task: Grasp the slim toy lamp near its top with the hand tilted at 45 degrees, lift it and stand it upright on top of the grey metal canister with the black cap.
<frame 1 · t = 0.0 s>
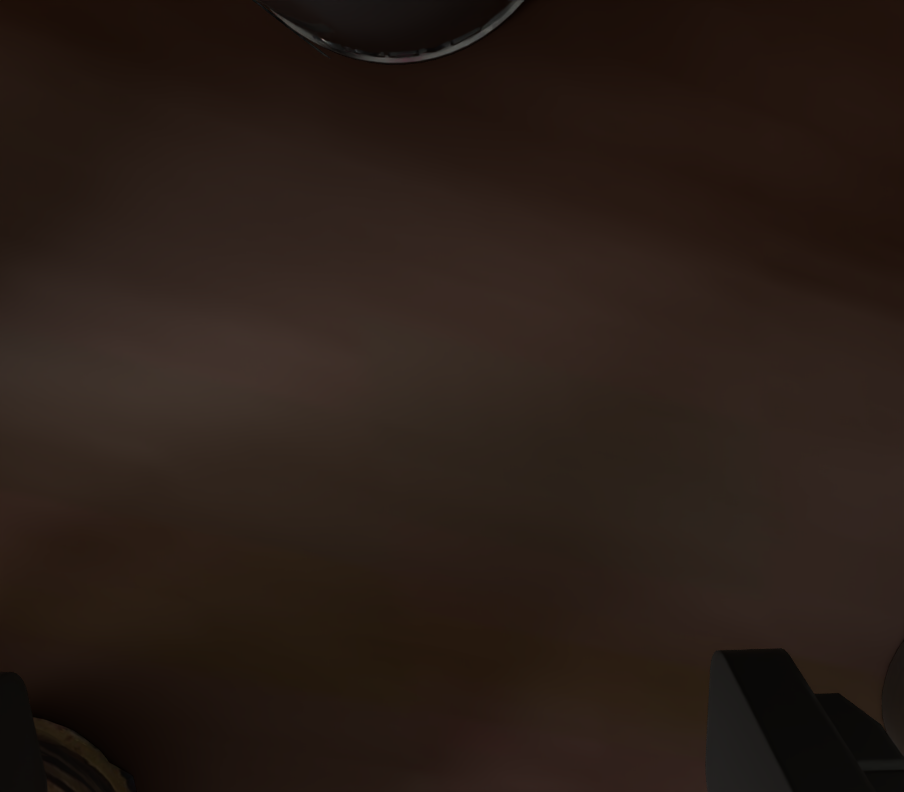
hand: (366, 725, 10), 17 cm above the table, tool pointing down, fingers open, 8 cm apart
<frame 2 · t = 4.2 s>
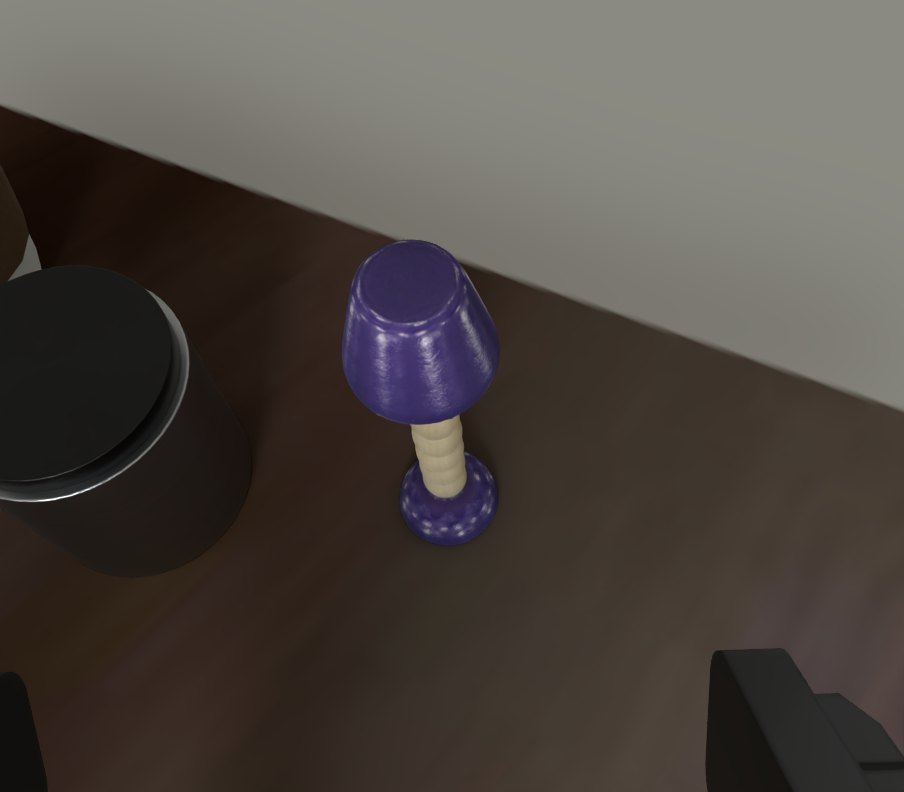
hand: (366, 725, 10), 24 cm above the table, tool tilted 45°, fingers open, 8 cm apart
toy lamp: (442, 505, 37), on the table
grey metal canister: (150, 477, 37), on the table
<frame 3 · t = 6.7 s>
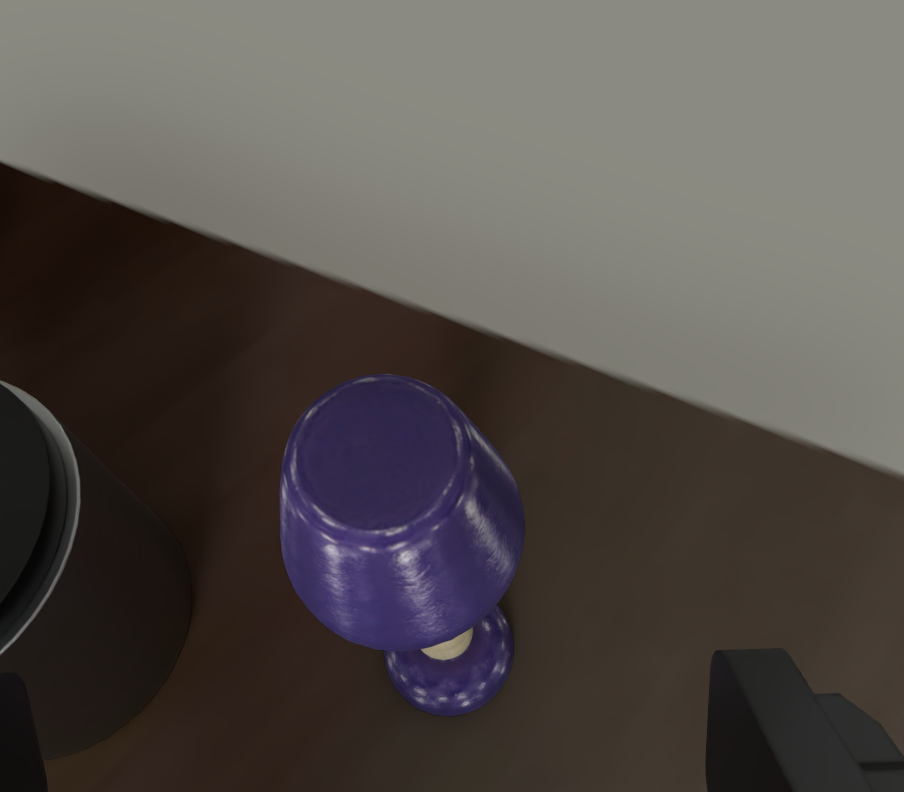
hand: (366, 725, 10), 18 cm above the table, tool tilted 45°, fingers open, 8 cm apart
toy lamp: (440, 655, 28), on the table
grey metal canister: (60, 617, 29), on the table
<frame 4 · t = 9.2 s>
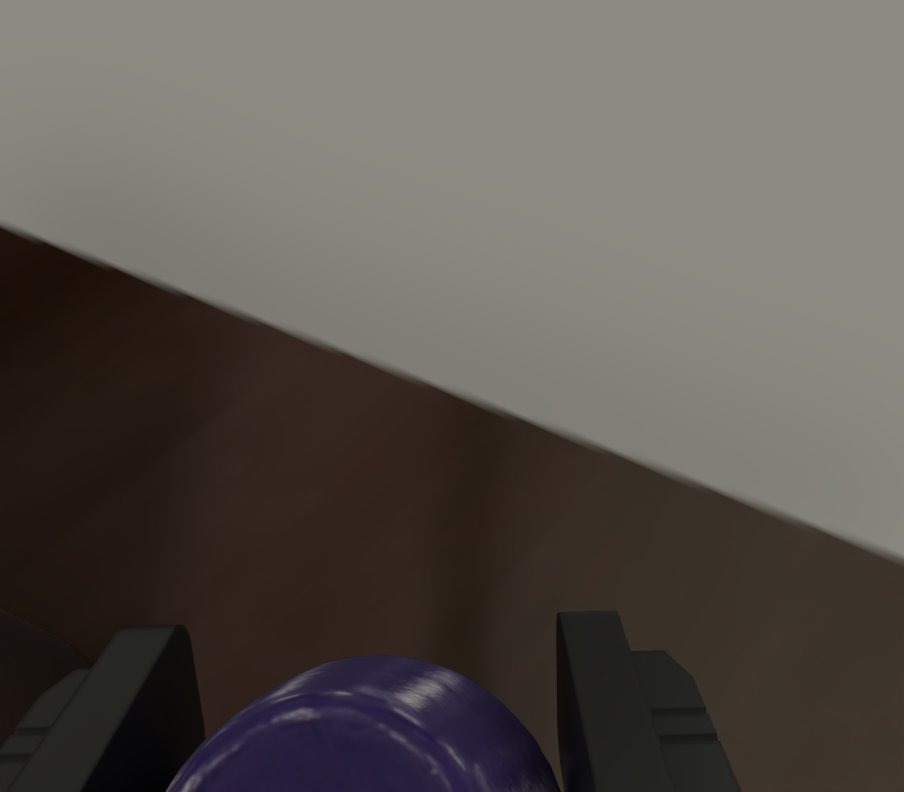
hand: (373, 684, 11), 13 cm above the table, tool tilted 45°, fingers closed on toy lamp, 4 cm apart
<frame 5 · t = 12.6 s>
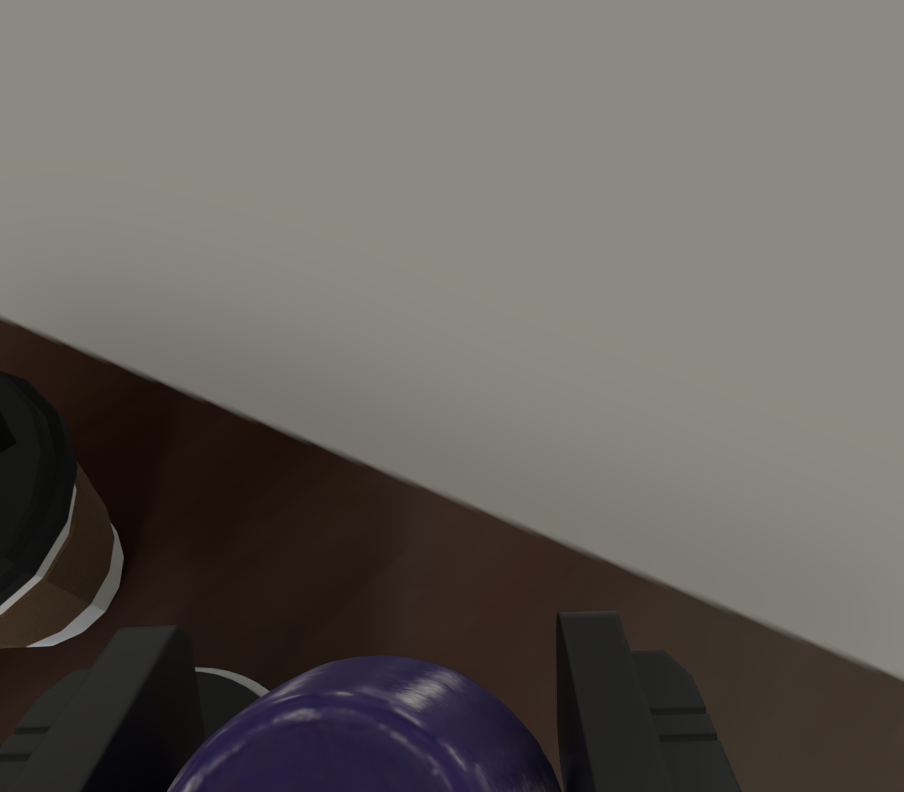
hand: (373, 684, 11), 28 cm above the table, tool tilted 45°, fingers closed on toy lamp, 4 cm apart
coffee cup: (61, 579, 40), on the table
when the fingers open (23 cm above the table, at t = 16.1 s): toy lamp stays where it is, resting on grey metal canister.
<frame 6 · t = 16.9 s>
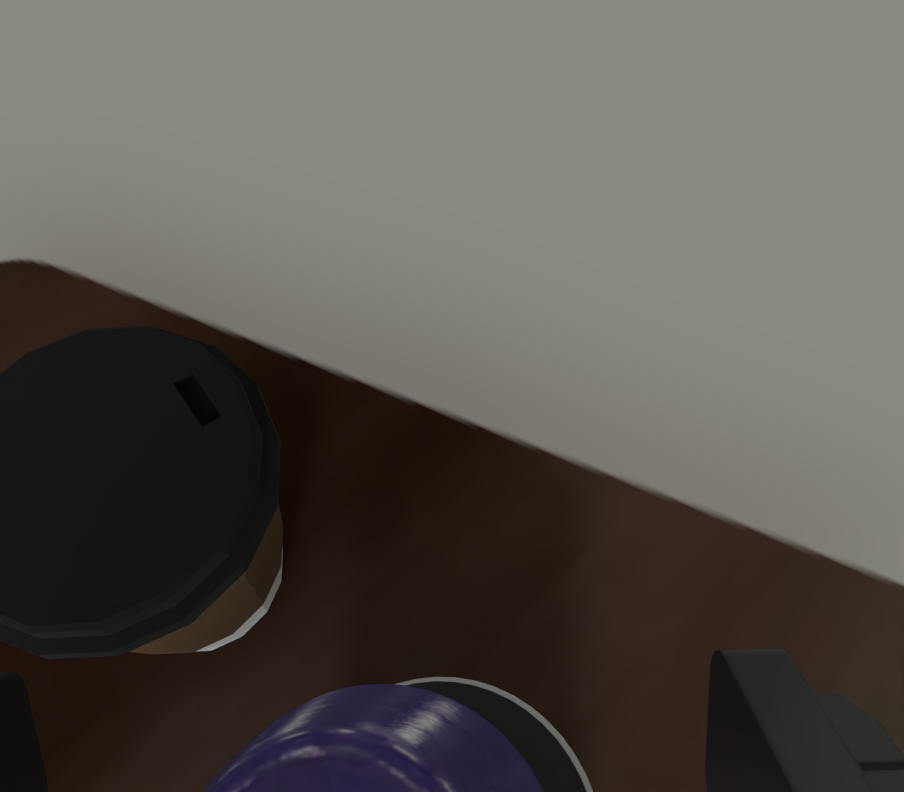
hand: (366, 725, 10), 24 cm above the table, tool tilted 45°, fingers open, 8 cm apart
coffee cup: (210, 576, 36), on the table
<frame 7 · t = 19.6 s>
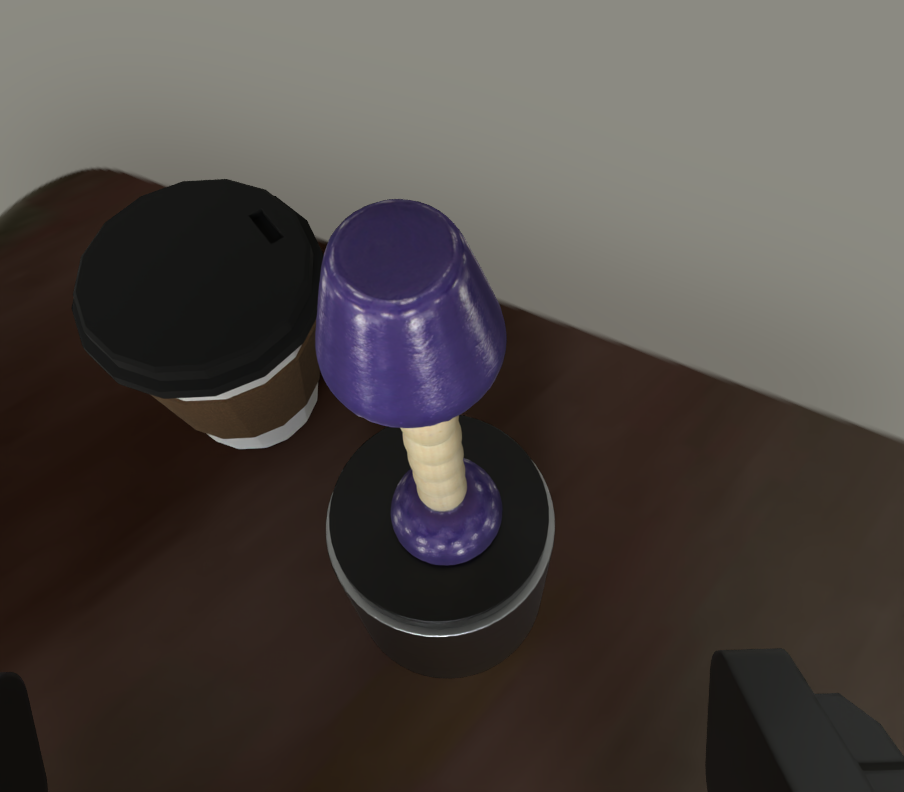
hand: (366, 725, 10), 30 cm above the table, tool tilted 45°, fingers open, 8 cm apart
toy lamp: (439, 518, 32), point 10 cm above the table, touching grey metal canister
coffee cup: (260, 400, 46), on the table
grey metal canister: (448, 582, 41), on the table
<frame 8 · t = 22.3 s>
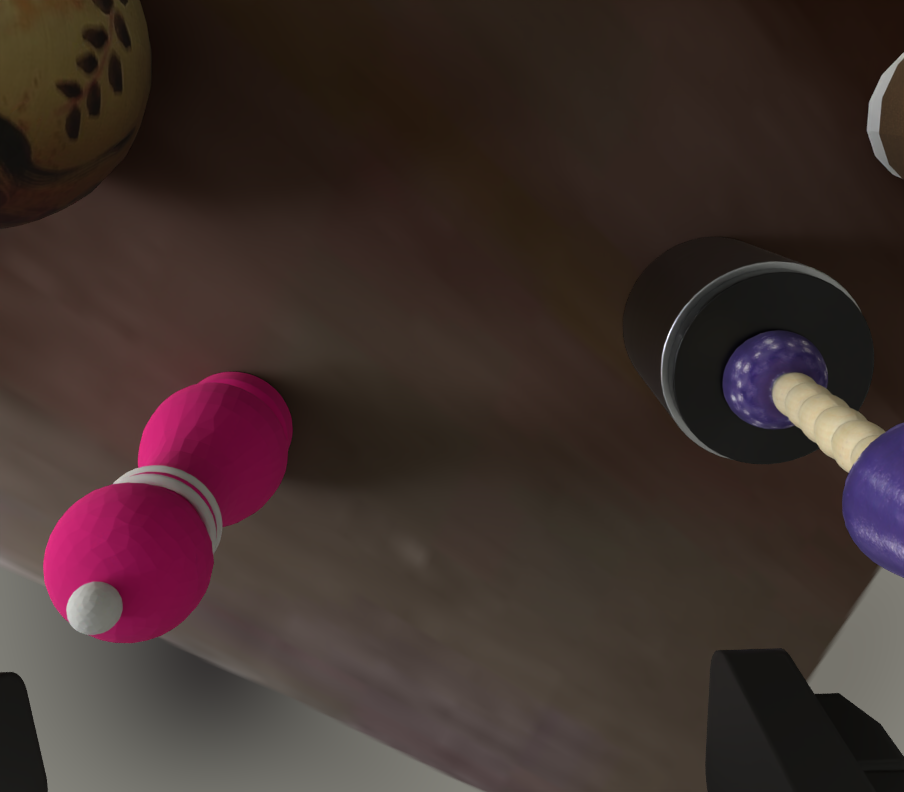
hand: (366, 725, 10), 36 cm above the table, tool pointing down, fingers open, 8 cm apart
toy lamp: (766, 371, 36), point 10 cm above the table, touching grey metal canister
pepper mill: (238, 423, 47), on the table
ceramic jug: (24, 51, 42), on the table
grey metal canister: (707, 321, 45), on the table
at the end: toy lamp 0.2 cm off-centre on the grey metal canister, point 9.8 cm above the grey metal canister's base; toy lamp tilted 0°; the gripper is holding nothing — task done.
